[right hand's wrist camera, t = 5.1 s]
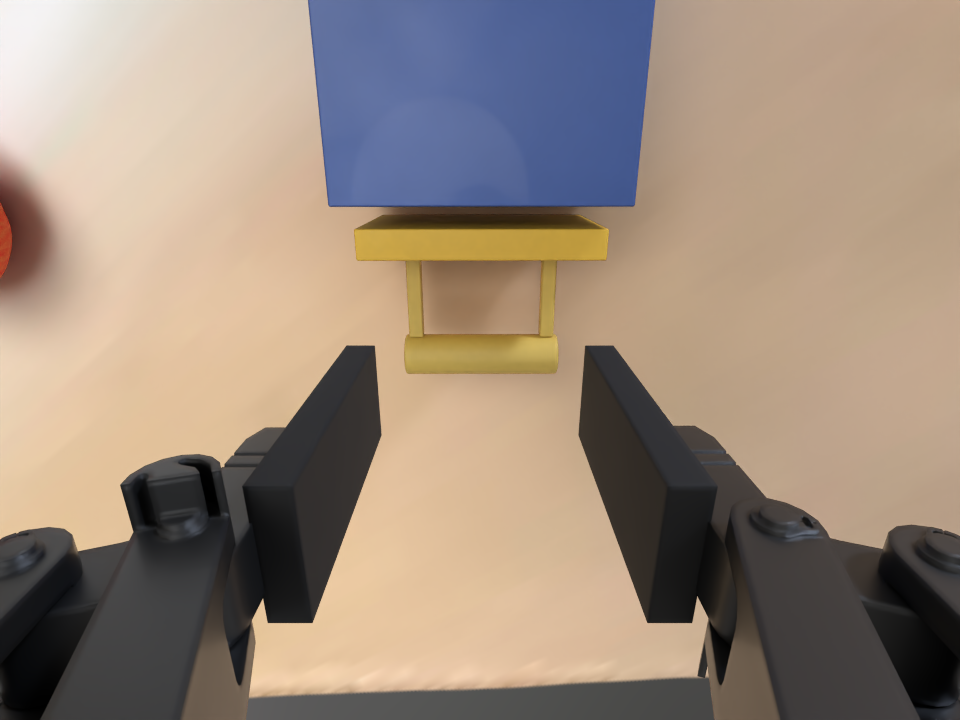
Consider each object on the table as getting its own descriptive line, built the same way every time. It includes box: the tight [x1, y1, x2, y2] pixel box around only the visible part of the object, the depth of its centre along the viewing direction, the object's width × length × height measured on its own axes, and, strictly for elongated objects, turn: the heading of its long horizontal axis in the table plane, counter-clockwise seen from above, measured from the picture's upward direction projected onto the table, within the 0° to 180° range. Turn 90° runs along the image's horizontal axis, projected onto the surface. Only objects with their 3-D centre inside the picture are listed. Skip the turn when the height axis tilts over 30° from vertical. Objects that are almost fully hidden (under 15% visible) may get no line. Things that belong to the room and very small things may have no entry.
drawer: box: [354, 215, 609, 374], centre depth 20 cm, size 25×10×6 cm, turn 0°
